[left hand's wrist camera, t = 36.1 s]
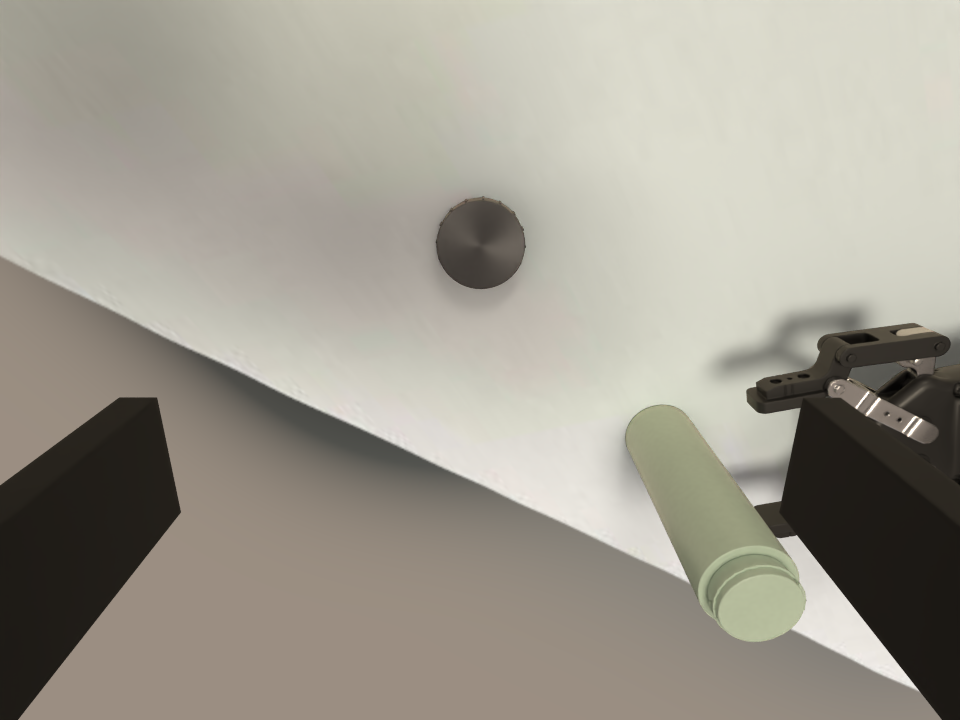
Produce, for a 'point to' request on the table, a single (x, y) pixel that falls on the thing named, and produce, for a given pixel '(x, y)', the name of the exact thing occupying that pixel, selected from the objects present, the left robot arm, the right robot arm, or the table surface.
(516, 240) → the lid
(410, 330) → the table surface
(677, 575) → the table surface
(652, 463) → the bottle
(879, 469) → the left robot arm
